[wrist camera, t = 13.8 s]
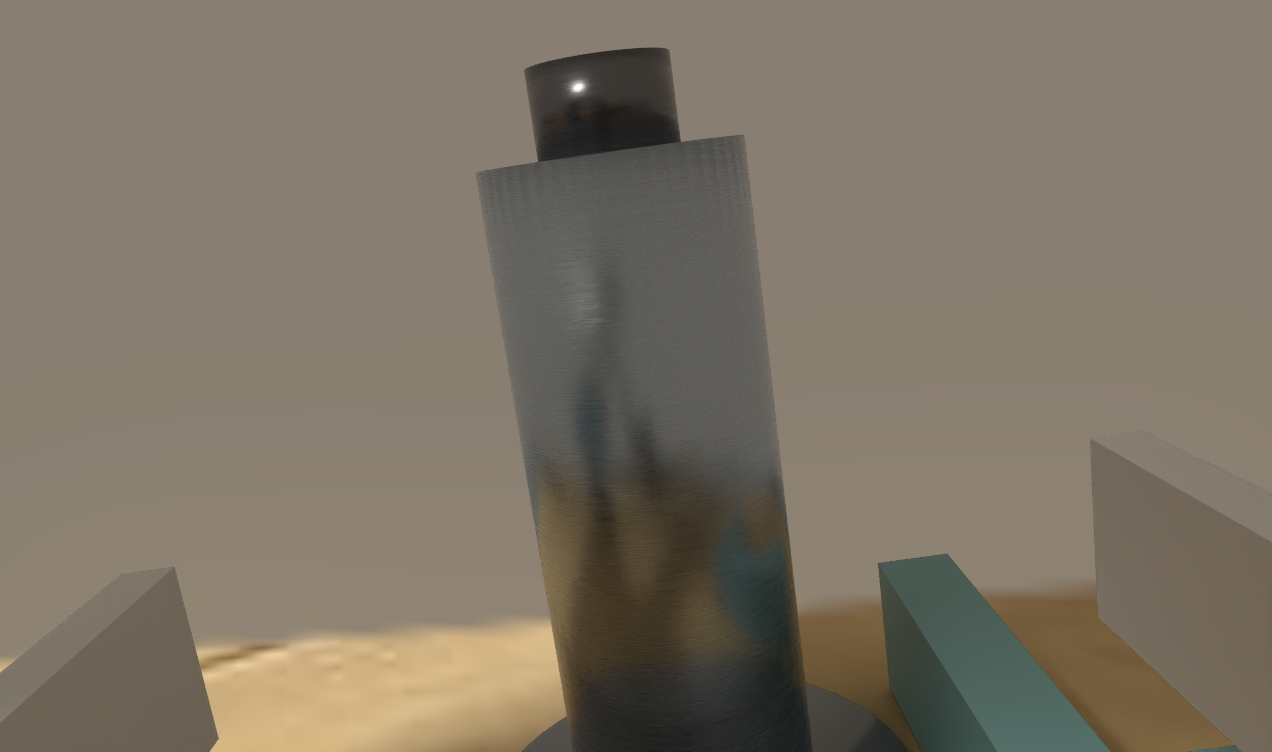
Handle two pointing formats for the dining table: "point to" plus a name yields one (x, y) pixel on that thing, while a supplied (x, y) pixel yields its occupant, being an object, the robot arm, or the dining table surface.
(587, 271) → the bottle
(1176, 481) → the robot arm
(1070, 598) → the dining table surface
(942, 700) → the bent rail
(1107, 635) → the dining table surface
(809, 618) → the dining table surface
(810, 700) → the coaster
